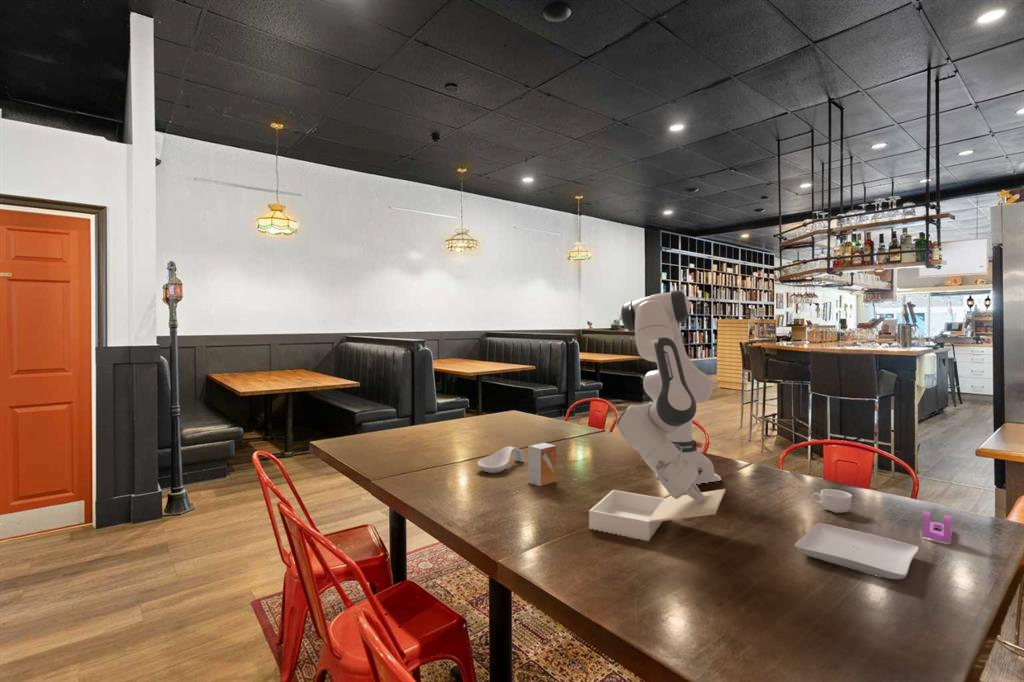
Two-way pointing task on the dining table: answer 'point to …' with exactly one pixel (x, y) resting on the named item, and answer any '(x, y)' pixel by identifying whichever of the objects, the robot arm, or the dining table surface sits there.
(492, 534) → the dining table surface
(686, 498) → the mailer lid
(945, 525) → the bracket
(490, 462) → the spoon rest
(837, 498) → the teacup
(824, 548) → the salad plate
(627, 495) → the tray
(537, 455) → the small box
